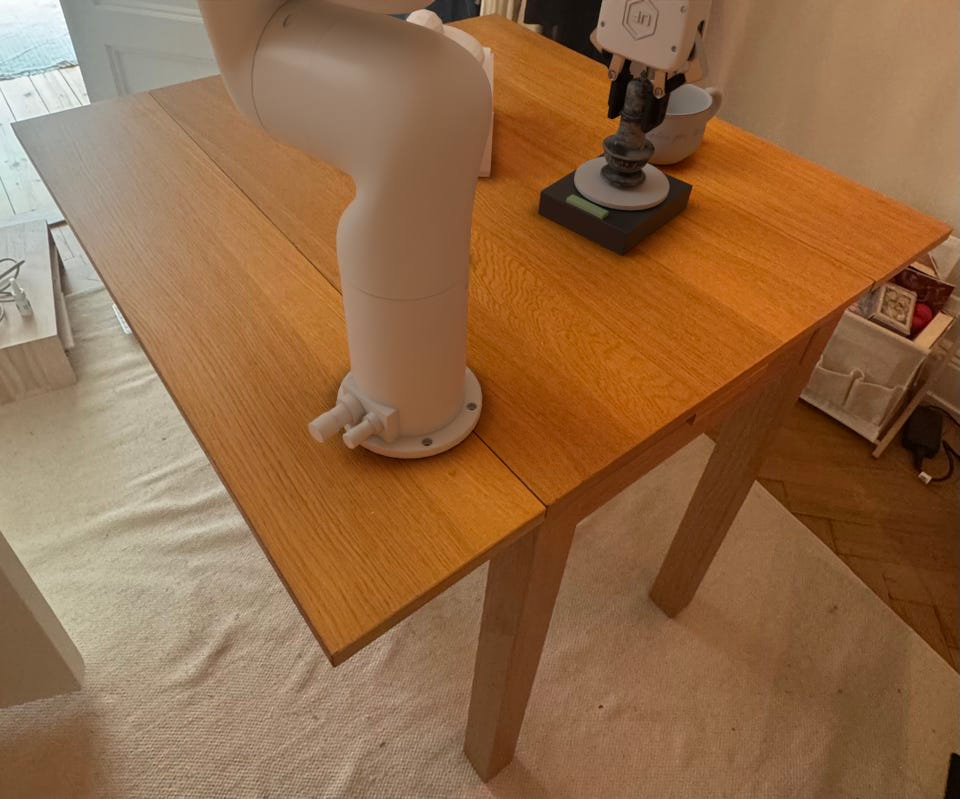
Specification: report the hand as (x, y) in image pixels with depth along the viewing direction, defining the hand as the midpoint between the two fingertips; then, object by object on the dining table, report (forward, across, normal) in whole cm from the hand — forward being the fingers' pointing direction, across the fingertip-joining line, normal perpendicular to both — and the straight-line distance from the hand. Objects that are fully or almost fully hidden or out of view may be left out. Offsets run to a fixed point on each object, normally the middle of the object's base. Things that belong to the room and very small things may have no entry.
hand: (633, 120), depth 80 cm
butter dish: (+11, -28, -4) cm, 30 cm away
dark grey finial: (+7, 0, 0) cm, 7 cm away
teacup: (+11, -3, +16) cm, 20 cm away
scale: (+11, 0, 0) cm, 11 cm away
